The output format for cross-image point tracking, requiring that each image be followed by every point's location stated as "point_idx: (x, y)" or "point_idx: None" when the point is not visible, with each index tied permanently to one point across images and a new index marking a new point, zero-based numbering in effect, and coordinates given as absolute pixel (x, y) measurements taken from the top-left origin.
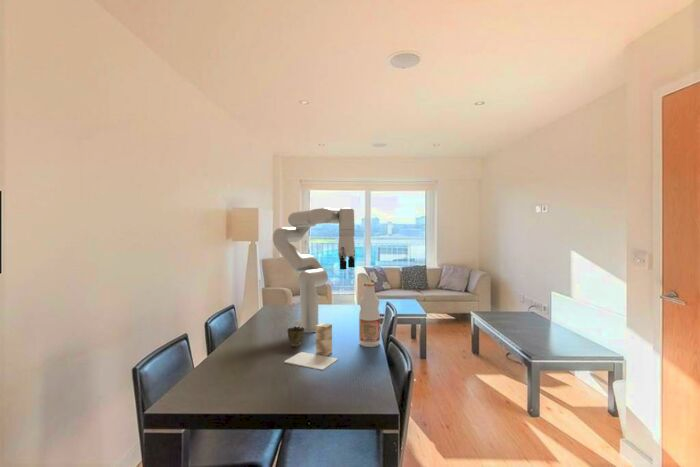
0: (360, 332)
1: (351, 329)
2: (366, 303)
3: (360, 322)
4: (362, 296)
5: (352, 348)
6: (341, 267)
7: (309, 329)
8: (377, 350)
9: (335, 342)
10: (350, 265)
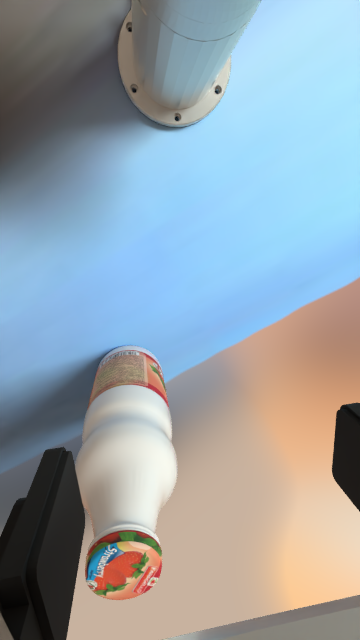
0: (97, 376)
1: (251, 242)
2: None
3: (92, 396)
4: (99, 473)
5: (65, 348)
6: (21, 503)
7: (141, 85)
8: None
9: (85, 269)
10: (352, 450)
